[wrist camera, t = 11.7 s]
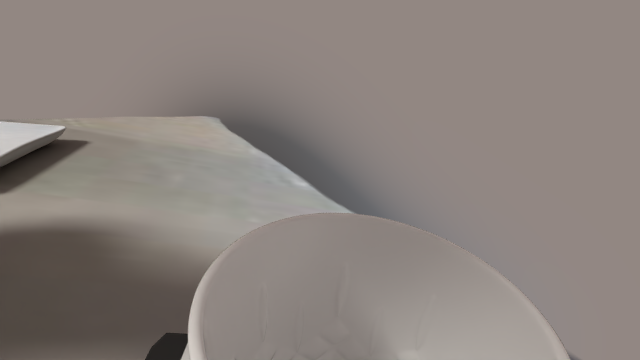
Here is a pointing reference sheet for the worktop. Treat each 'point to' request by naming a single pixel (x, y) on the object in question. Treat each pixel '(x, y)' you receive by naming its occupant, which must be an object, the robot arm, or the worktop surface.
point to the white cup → (360, 298)
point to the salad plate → (24, 139)
